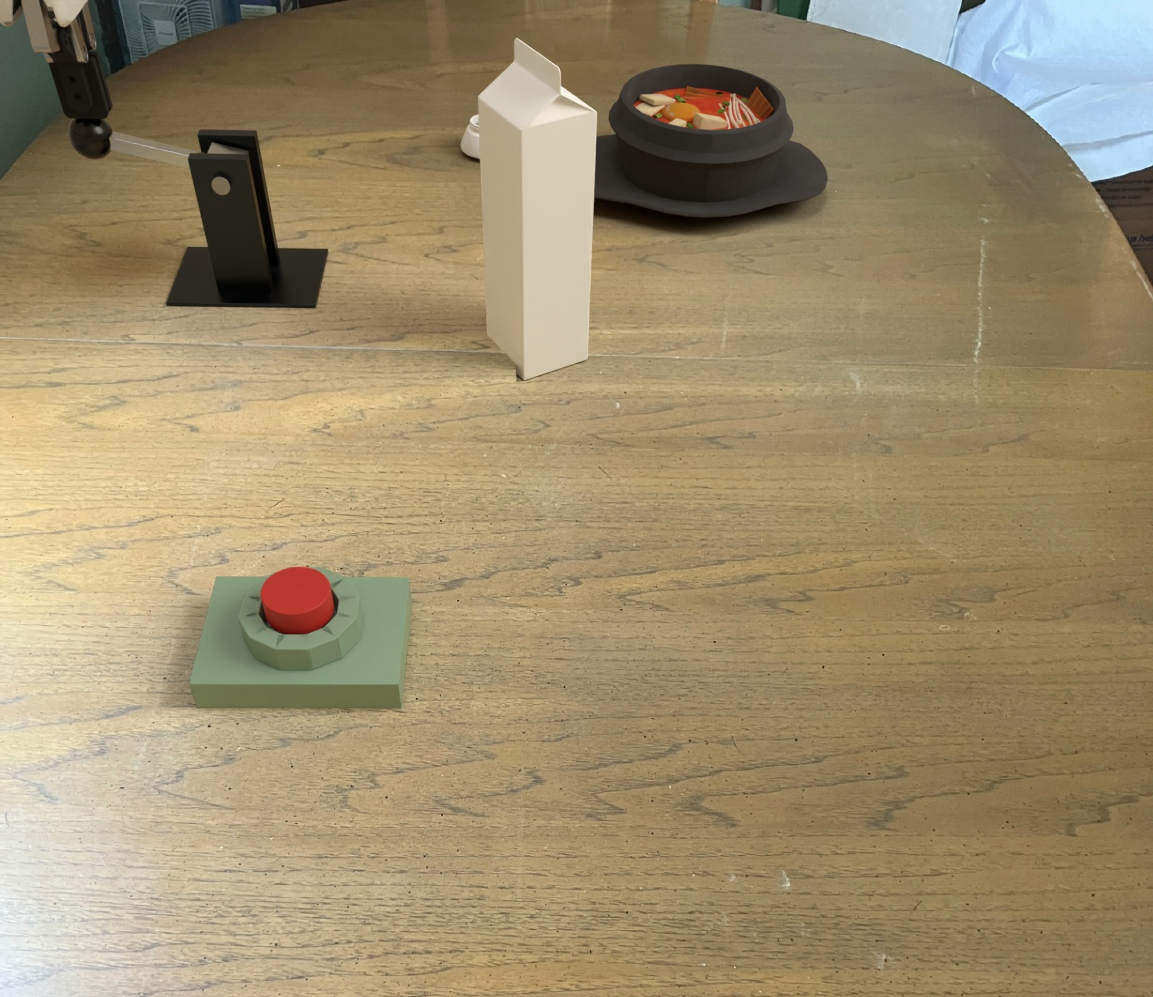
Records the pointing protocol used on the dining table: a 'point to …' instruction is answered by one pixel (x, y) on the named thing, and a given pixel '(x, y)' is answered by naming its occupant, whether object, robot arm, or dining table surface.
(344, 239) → the dining table surface
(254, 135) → the bracket
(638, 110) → the casserole
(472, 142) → the lidless jar
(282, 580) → the button
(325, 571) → the button block
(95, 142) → the tap lever
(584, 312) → the milk
